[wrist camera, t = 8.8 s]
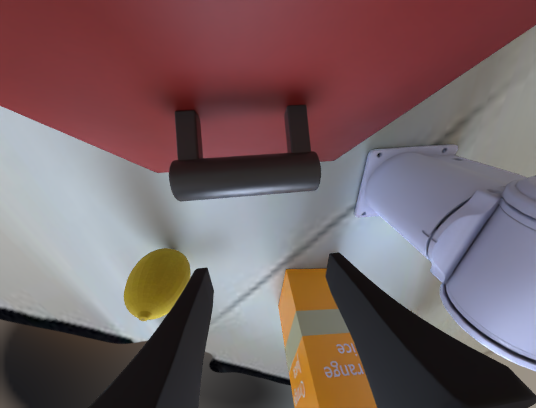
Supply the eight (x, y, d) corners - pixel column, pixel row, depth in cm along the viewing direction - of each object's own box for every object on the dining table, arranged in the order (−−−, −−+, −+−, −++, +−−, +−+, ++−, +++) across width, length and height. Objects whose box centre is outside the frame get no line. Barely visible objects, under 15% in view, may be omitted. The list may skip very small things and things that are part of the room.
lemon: (139, 237, 21) (90, 305, 15) (189, 230, 22) (164, 294, 15) (158, 270, 24) (124, 341, 17) (202, 264, 25) (186, 331, 18)
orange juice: (337, 267, 28) (488, 552, 11) (322, 304, 32) (413, 548, 15) (284, 268, 27) (358, 588, 9) (276, 306, 31) (318, 573, 14)
